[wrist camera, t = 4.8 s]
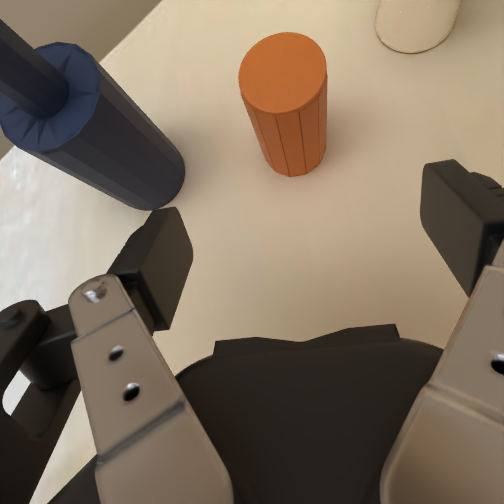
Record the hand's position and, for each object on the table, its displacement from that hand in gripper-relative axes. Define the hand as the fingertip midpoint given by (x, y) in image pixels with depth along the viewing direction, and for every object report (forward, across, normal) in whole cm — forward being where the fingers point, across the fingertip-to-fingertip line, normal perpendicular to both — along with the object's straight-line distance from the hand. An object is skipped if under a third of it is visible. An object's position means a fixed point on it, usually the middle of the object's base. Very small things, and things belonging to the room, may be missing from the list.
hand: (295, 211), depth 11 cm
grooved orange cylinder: (+18, 0, +4) cm, 19 cm away
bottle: (+18, +13, +4) cm, 23 cm away
